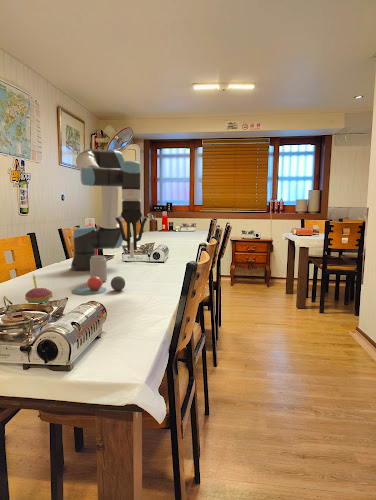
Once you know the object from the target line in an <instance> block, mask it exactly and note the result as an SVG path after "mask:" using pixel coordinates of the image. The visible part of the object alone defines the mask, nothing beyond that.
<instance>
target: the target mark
mask: <svg viewBox="0 0 376 500" xmlns="http://www.w3.org/2000/svg"><path fill="white" fill-rule="evenodd" d="M106 291H107V288H106V287H104V286H101V288H100V289H98V290H95V291H94V290H91V289H89V287H88V285H87V286H79V287H76V288H73V289H72V290H71V293H72V294H73V295H78V296H92V295H93V296H94V295H100V294H103V293H104V292H106Z"/></svg>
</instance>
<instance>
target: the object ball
mask: <svg viewBox="0 0 376 500" xmlns="http://www.w3.org/2000/svg"><path fill="white" fill-rule="evenodd" d="M86 285H87V286H88V287H89V289H91V290H94V291H95V290H98V289H100V288H101V287H103V282H102V280H101V279H100V278H99V277H97V276H93V277H91V278H90V277H89V278H88V280H87V282H86Z"/></svg>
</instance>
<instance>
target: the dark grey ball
mask: <svg viewBox="0 0 376 500" xmlns="http://www.w3.org/2000/svg"><path fill="white" fill-rule="evenodd" d="M110 286H111V289H113V290H115V291H116V292H117V291H119V292H120V291H122V290H123V289H124V288H125V286H126V281H125V278H123V277H122V276H114V277H113V278H112V279H111V281H110Z"/></svg>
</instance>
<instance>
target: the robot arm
mask: <svg viewBox="0 0 376 500" xmlns="http://www.w3.org/2000/svg"><path fill="white" fill-rule="evenodd" d="M123 154H124V153H122V152H121V151H119V150H113V149H112V150H111V149H98V148H97V149H96V148H90V149H85V150H83V151H82V152H80V153H79V154H78V155H77V157H76V161H75V162H76V163H75V164H76V166H77V168H78V169H79V170H80V183H81V184H82V185H83V186H89V187H93V186H95V187H102V189H101V191H102V193H101V197H102V200H101V207H102V208H101V209H102V211H101V213H102V214H101V223H100V224H99V225H98V227H97V228H96V226H95V225H87V226H81V227H76V228H75V229H74V230H73V234H72V235H73V236H72V238H73V258H72V260H71V261H72V262H71V265H70V269H71V270H73V271H79V272H80V271H83V272H84V271H85V272H87V271H90V259H91V258H92V257H91V256H97V251H96V250H107V249H108V250H114V249H119V248H121V247H122V244H123V242H126V248H127V251H129V259H134V258H135V251H136V250H137V249H138V245H137V244H138V242H139V241H141V240H142V236H143V232H144V229H145V224H146V223H147V221H148V218H147V217H146V216H145V215H143V213H142V210H141V209H142V206H141V205H142V203H141V198H142V195H141V193H142V191H141V189H142V188H141V185H142V184H141V178H142V177H141V175H142V174H141V173H142V172H141V163H140V162H139V161H135V160H125V157H124V155H123ZM120 187H121V199H122V201H121V204H122V205H121V213H120V215H119V188H120ZM123 220H124V221H125V223H126V233H125V230H124V225H123ZM140 220H141V224H140V229H139V233H137V232H138V231H137V230H138V229H137V226H138V225H137V223H138V222H139V221H140ZM131 224H132V226H133V227H132V232H133V233H132V234H133V236H132V237H133V238H132V239H133V241H131V240H132V239H131ZM137 235H138V236H137Z"/></svg>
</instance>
